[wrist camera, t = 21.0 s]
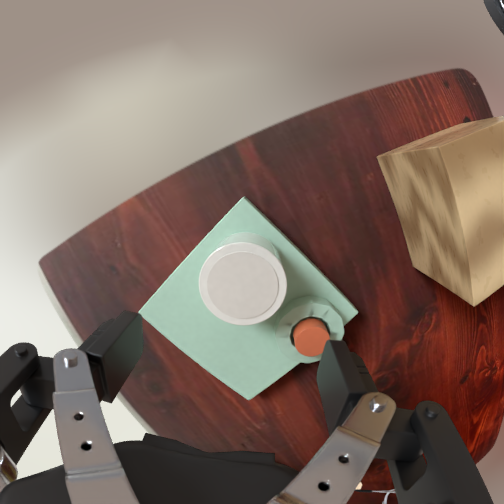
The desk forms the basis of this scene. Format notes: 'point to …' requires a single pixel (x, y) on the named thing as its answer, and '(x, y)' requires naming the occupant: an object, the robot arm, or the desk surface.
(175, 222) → the desk surface
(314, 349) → the button
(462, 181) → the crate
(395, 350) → the desk surface
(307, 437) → the desk surface
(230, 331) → the scale
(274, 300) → the ramekin
